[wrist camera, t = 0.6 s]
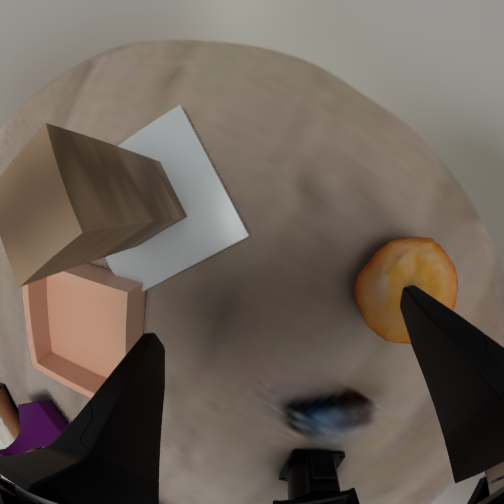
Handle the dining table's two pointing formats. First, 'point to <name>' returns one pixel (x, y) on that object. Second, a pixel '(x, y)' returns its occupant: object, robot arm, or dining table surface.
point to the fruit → (403, 283)
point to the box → (82, 324)
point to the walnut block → (79, 203)
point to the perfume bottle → (36, 427)
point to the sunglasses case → (9, 414)
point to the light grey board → (191, 198)
